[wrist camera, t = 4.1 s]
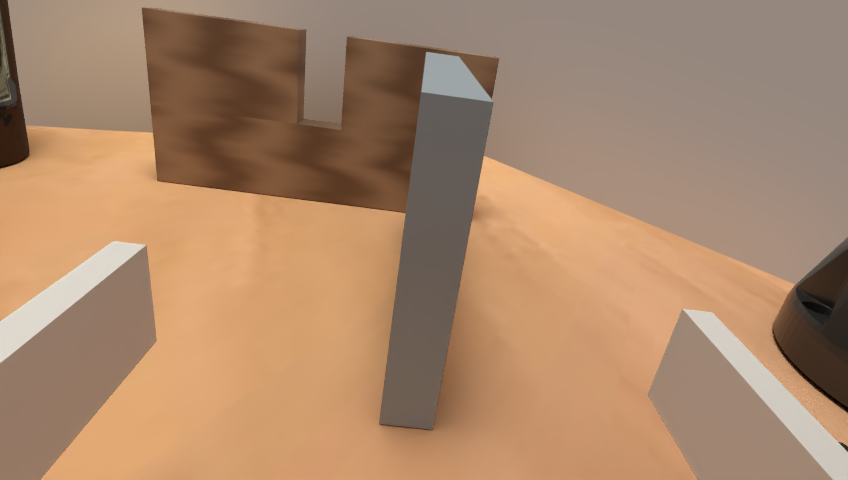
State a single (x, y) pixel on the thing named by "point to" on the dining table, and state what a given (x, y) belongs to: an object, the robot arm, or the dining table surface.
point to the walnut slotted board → (284, 111)
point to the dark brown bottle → (10, 97)
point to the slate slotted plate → (434, 237)
